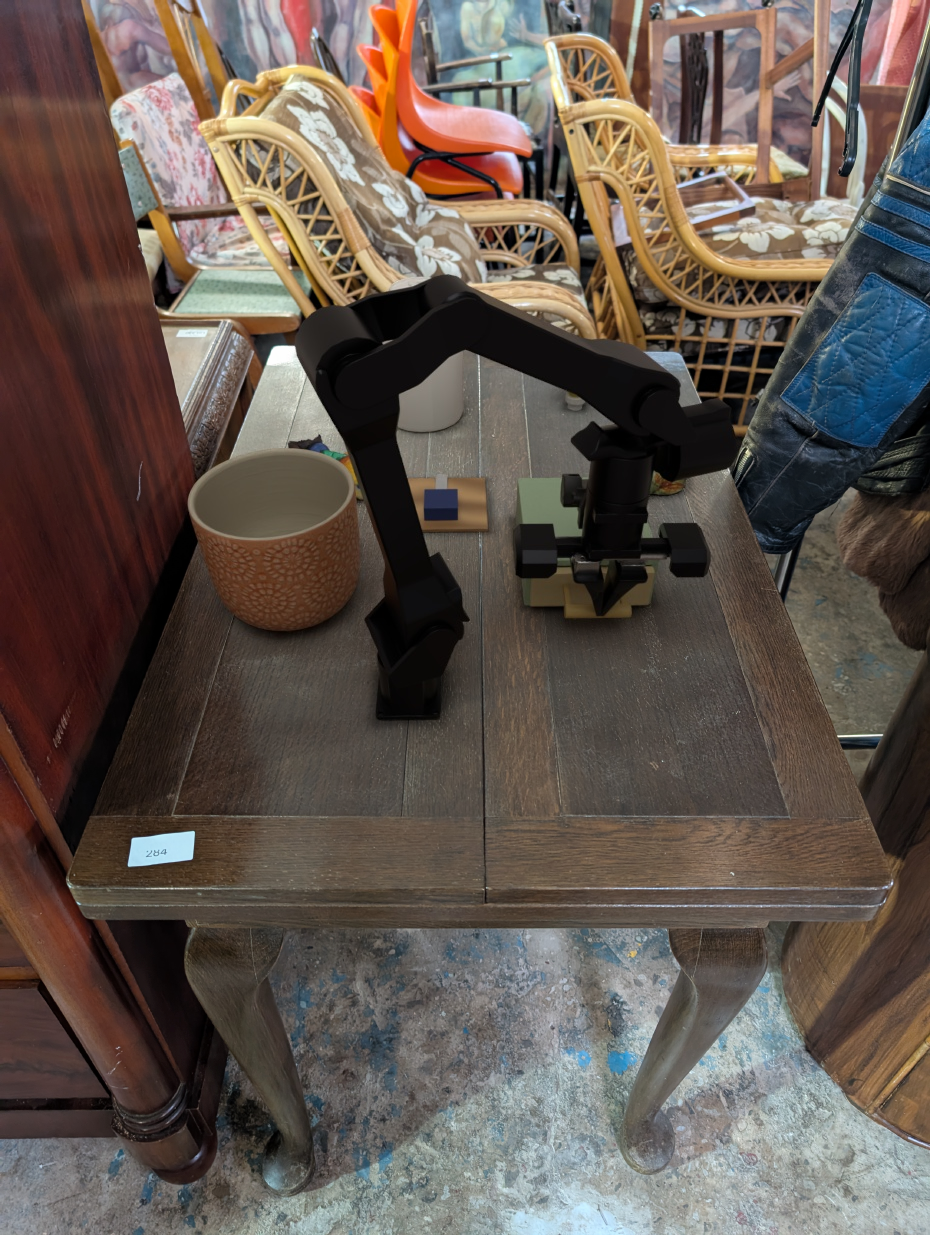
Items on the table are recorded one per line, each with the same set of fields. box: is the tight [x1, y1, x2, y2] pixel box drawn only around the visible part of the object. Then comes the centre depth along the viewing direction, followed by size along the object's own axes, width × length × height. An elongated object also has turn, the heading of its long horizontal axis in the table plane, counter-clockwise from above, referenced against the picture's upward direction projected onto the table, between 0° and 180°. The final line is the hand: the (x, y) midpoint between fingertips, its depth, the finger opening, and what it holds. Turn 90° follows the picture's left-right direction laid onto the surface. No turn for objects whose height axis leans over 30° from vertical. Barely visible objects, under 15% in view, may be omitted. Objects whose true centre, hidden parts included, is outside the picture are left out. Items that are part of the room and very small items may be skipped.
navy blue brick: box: [424, 473, 458, 521], centre depth 106 cm, size 10×4×2 cm, turn 1°
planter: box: [187, 447, 361, 632], centre depth 87 cm, size 17×17×15 cm
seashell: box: [649, 471, 687, 496], centre depth 110 cm, size 10×4×10 cm
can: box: [382, 276, 465, 433], centre depth 118 cm, size 12×12×20 cm
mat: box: [407, 477, 489, 533], centre depth 106 cm, size 12×12×1 cm
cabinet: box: [515, 476, 660, 606], centre depth 95 cm, size 17×15×7 cm
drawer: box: [529, 565, 655, 619], centre depth 92 cm, size 20×13×5 cm, turn 1°
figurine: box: [287, 432, 364, 501], centre depth 107 cm, size 11×8×6 cm, turn 41°
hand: (599, 613), depth 84 cm, fingers closed
